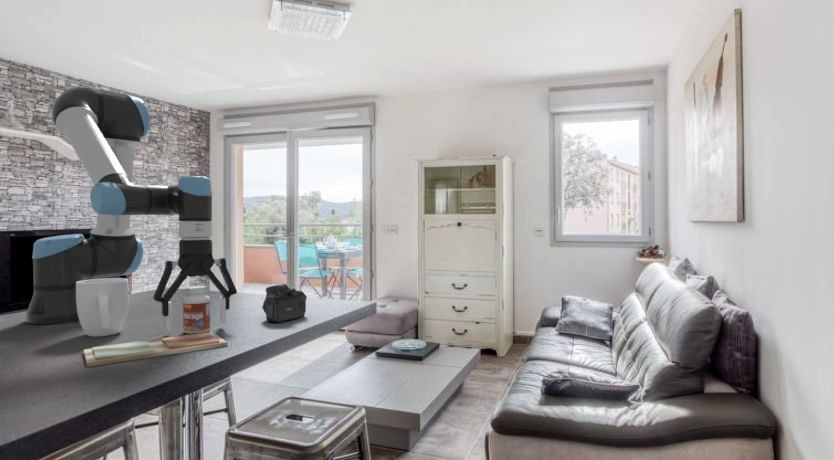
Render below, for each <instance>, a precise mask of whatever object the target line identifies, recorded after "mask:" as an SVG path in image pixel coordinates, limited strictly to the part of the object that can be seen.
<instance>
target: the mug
mask: <svg viewBox="0 0 834 460" xmlns="http://www.w3.org/2000/svg"><path fill="white" fill-rule="evenodd" d="M129 289H130V288H129V279H128V278H125V277H124V278H123V277H100V278H90V279H85V280H82V281H78V282H76V304H77V313H78V318H79V320H78V321H79V324H80V326H81V328H82V330H83V331H84V334H86V335H87V336H89V337H94V338H95V337H98V338H99V337H107V336H113V335H116V334H118V333H120V332H121V331H122V329H123V327H124V325H125V323H126V320H127V317H128V313H129V305H130V304H129V303H130V302H129V301H130V296H129V295H130V291H129Z"/></svg>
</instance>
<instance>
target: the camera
mask: <svg viewBox="0 0 834 460" xmlns="http://www.w3.org/2000/svg"><path fill="white" fill-rule="evenodd" d="M265 293H266V294H265V298H264V301H263V305H262V310H263V311H264V314H265V318H266V321H267V322H268V323H269V322H271V323H281V322H285V321H291V320H295V319H298V318H301V317H304V316H305V315H306V308H307V303H306V302H307V295H306V294H305V293H304V292H303V291H301V290H296V288H291V287H289V285H288V284H287V283H282V284H276V285H270V286H268V287H266V288H265Z"/></svg>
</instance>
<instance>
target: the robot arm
mask: <svg viewBox="0 0 834 460" xmlns="http://www.w3.org/2000/svg"><path fill="white" fill-rule="evenodd" d="M51 116H52V119H53V122H54V123H53V124H54V125H55V127H56V129H57V131H58V132H59V133H60V134H62V135H64V136H65V137H66V138H67V140H68V141H69V143H70V145H71V146H72V149H73V151H75V154H76V156H77V157H78V160H79V161H80V162H81V164H82V167H83V168H84V170H85V171H86V174H87V175H88V177H89V178H90V180H91V182H92V184H93V185H92V188H91V189H90V195H89V196H90V197H89V200H90V202H91V204H90V205H91V207H92V210H93V211H94V212H95V213H96V226H95V227H94V228H92V229H91V230H90V232H89V233H90V234H89V238H85V236H84V234H82V233H72V234H64V235H56V236H55V235H54V236H47V237H43V238H40V239H37V240H36V241H35V242H34V243H33V244H32V245H33V249H32V256H31V258H32V266H33V267H32V269H33V270H32V273H33V275H32V276H33V277H32V278H33V294H32V297H31V301H30V303H29V306H28V309H27V311H26V314H25V316H26V317H25V318H26V319H25V321H26V324H31V325H51V324H52V325H54V324H63V323H64V324H65V323H70V322H72V323H73V322H77V321H79V318H78V313H77V304H76V282H78V281H82V280H89V279H101V278H113V277H115V278H120V277H121V276H127V275H132V274H133V273H135V272H136V271H137V270H138V269H139V268H140V265H141V264H142V262H143V261H142V260H143V255H144V247H143V243H142V241H141V239H140V238H138V237H137V236H136V232H135V231H134V229H132V228H131V217H132V216H171V217H172V216H178V237H179V238H180V240H179V241H178V244H179V245H178V248H179V249H178V250H179V255H178V256H179V257H178V259H177V260H168V259H166V260H165V261H164V271H163V273H162V275H161V278H160V279H159V281H158V285H157V288H156V289H155V292H154V294H153V296H152V298H153V300H154V301H156V302H159V303H161V315H162V317H166V329H167V330H168V331H173V328H174V327H173V323H174V322H173V302H172V301H170V300H171V299H172V298H173V296H174V295H175V294H176V292H177V291H178V290H179V288H180V287H181V285H182V284H183V283H184V281H186V280H187V278H188V277H190V278H196V277H198V276H199V277H205V276H206V277H207V278H208V279H209V280H210V282H211V283H212V284H213V286H215V288H217V290H218V291H219V293H220V294H221V295H222V296H219V323H221V324H223V325H225V324H227V316H226V315H227V313H226V312H227V310H230V304H231V303H230V298H231V296H233V295H236V294H237V293H238V290H237V288H236V286H235V283H234V281H233V278H232V276H231V275H230V273H229V270H228V268H227V260H226V259H227V258H225V257H219V258H214V257H213V240H212V239H210V238H212V237H213V227H212V225H213V223H212V221H213V220H212V217H213V216H212V215H213V209H212V208H213V207H212V205H213V197H212V196H213V191H212V182H211V179H210V178H209V177H208V176H199V175H183V176H180V177H178V181H177V185H164V184H163V185H161V184H144V183H143V184H142V183H133V177H134V160H135V159H134V158H135V157H134V156H135V155H134V154H135V148H136V147H137V146H139V144H141V138H144V137H146V136H147V135H148V133H149V131H150V128H151V118H150V117H151V116H150V111H149V109H148V107H147V105H146V103H145V102H144V101H143V100H142V98H139V97H137V96H133V95H129V94H125V93H120V92H113V91H109V90H103V89H102V90H101V89H98V88H97V89H96V88H93V87H86V86H78V87H77V86H76V87H73V88H69V89H68V90H65V91H64V92H62V93H61V94H60V95H59V96H58V97H57V98H56V99H55V101H54V103H53V105H52V110H51ZM214 264H215V265H216V267H218V269H219V271H220V273H221V276H222V279H223V280H224V282H225V285H226V287H227V288H226V287H225V286H224V285H223V284H222V282H221V281H220V280H219V279H218V278H217V276H216V274H215V273H214V272H213V271H212V270H211V269H212V267H213V266H214ZM177 266H178V267H179V268H180V270H181V271H180V272H179V273H178V274H177V277H176V278H175V279H174V281H173V283H172V284H171V285H170V286H169V288H168V289H167V290H166V291H165V289H166V287H167V284H168V282H169V280H170V277H171V275H172V272H173V270H175V269H176V267H177ZM227 289H228V290H227ZM164 291H165V293H164Z"/></svg>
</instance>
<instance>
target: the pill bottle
mask: <svg viewBox="0 0 834 460" xmlns="http://www.w3.org/2000/svg"><path fill="white" fill-rule="evenodd" d="M185 290H186V291H185V292H186V294H187V296H185V297H184V298H183V299H182V300H183V302H182V303H183V304H182V306H183V307H182V308H183V309H182V313H183V314H182V315H183V316H182V317H183V318H182V319H183V321H182V322H183V323H182V324H183V326H182V327H183V328H182V329H183V330H182V331H183V333H186V335H191V334H198V333H206V332H208V333H209V331H210V330H211V298H210V296H209V295H207V293H208V292H207V291H208V286H206V285H196V286H195V285H194V286H187V287H186V289H185Z"/></svg>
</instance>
